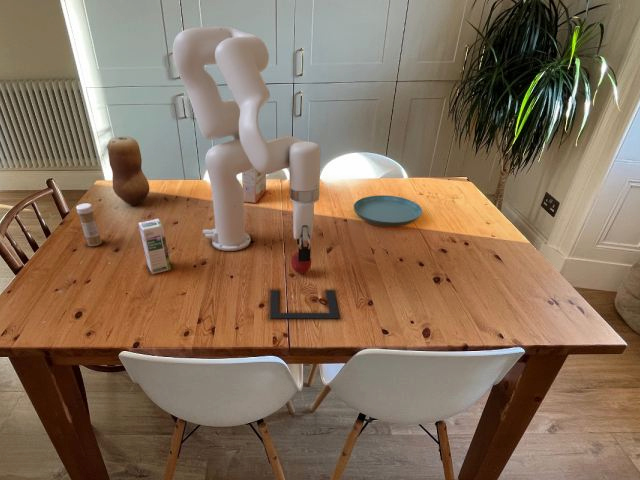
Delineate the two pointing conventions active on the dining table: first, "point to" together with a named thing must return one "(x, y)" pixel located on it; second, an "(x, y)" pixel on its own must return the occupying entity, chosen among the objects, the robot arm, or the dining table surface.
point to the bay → (331, 315)
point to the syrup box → (155, 245)
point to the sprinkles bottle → (89, 224)
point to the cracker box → (253, 185)
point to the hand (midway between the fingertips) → (303, 252)
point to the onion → (300, 264)
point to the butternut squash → (127, 170)
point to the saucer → (387, 210)
